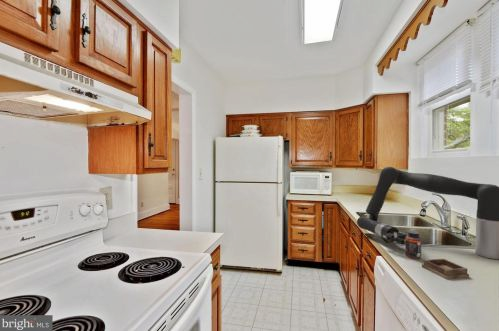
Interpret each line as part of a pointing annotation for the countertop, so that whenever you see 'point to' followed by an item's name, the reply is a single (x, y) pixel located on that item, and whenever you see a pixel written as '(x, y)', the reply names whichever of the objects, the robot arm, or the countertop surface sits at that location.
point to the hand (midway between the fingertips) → (412, 242)
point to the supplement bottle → (413, 245)
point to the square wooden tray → (445, 268)
